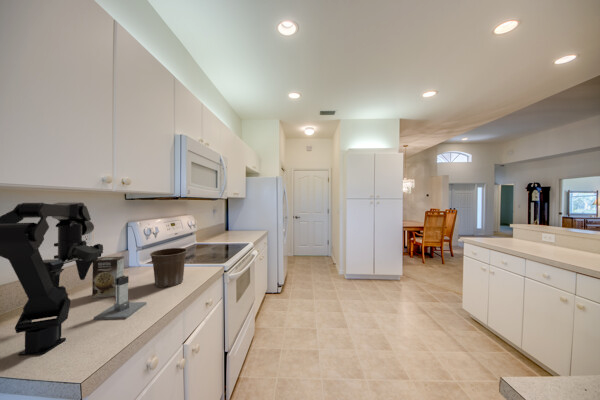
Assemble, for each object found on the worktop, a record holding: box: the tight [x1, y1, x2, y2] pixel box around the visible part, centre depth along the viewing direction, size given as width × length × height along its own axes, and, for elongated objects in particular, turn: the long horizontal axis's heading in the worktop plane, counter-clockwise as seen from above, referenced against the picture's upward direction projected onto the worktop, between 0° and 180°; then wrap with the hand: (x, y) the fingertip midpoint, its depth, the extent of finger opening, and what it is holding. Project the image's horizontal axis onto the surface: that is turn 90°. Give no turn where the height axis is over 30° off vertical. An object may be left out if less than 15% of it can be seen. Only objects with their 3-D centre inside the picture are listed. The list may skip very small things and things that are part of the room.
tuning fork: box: [113, 275, 130, 312], centre depth 83 cm, size 3×3×12 cm
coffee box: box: [91, 255, 125, 299], centre depth 98 cm, size 9×6×16 cm
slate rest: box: [93, 301, 147, 321], centre depth 83 cm, size 11×11×1 cm
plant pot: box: [149, 247, 188, 288], centre depth 111 cm, size 16×16×16 cm
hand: (69, 284), depth 75 cm, fingers open, 9 cm apart
